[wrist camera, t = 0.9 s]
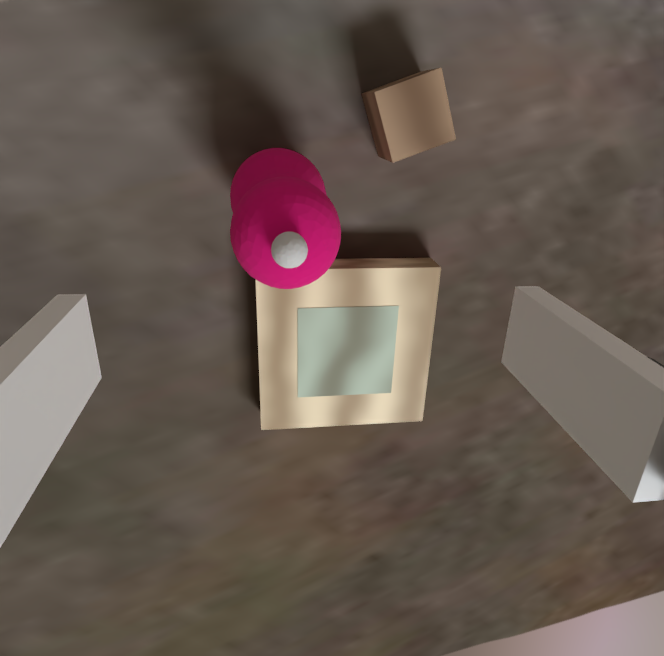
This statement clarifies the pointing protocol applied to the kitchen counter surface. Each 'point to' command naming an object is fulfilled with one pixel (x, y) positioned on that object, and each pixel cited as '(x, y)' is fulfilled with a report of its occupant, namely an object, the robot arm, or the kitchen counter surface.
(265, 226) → the pepper mill
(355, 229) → the kitchen counter surface
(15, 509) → the robot arm
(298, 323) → the base plate
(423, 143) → the block
